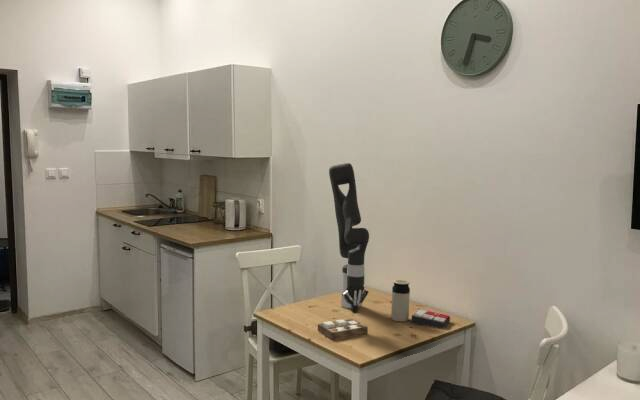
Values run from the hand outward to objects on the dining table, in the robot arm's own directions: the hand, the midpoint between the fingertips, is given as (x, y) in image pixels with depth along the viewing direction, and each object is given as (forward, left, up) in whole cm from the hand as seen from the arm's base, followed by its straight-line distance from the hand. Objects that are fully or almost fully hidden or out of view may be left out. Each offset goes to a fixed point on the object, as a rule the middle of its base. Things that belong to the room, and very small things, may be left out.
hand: (354, 312), depth 232 cm
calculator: (-37, +7, -8) cm, 39 cm away
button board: (+7, +1, -7) cm, 10 cm away
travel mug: (-27, -3, -8) cm, 28 cm away
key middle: (+7, 0, -5) cm, 9 cm away
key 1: (+13, 0, -5) cm, 14 cm away
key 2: (+1, 0, -7) cm, 7 cm away
